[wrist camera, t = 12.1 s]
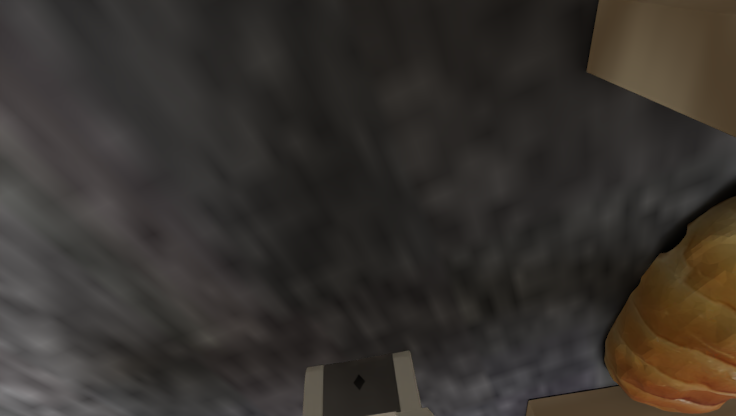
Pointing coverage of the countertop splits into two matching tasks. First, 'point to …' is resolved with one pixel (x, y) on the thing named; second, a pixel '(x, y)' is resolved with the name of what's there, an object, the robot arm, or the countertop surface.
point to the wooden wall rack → (671, 89)
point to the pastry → (682, 322)
